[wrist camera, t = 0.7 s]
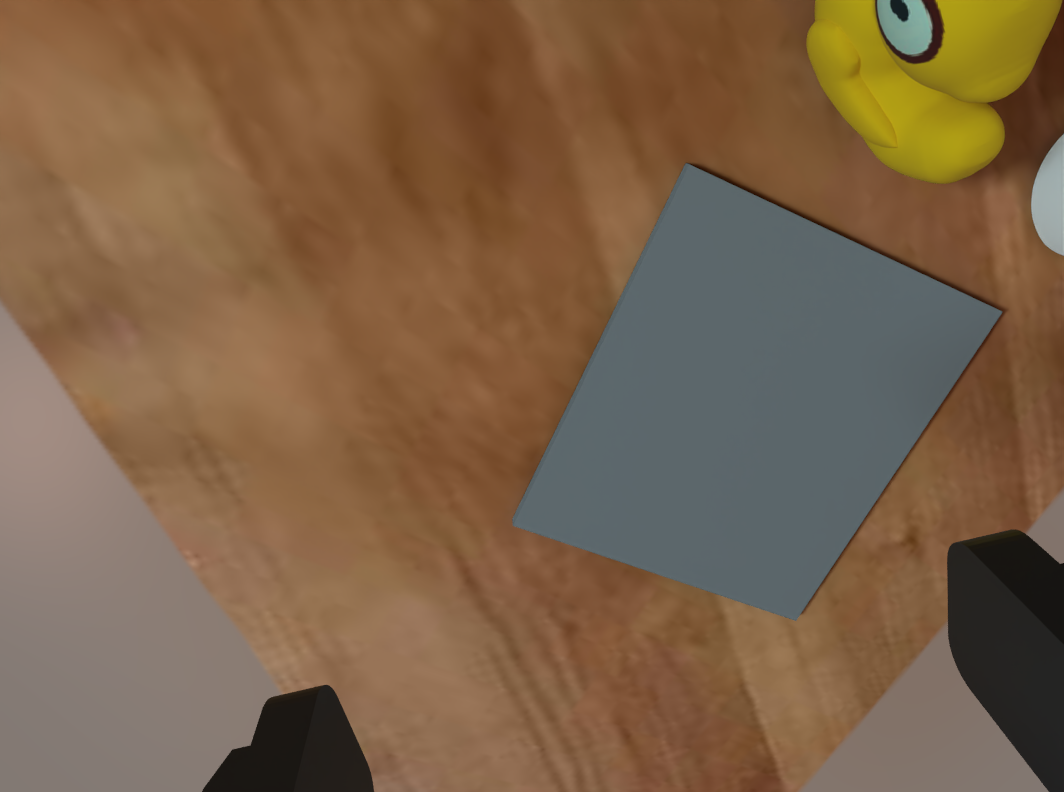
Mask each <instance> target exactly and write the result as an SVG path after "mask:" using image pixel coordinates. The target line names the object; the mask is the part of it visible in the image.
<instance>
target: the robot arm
mask: <svg viewBox="0 0 1064 792" xmlns="http://www.w3.org/2000/svg"><path fill="white" fill-rule="evenodd" d="M947 570H948V637H949V644H950V648H951V652H952V655H953V658H954V661H955V663H956V666H957V668H958V670H959V672H960V674H961V676H962V678H963V679H964V681H965V682H966V684H967V686H968V687H969V689H970V690H971V691H972V693H973V694H974V695H975V696H976V698H977V699H978V700H979V702H980V703H981V704H982V706H983V707H984V708H985V709H986V710H987V712H988V713H989V714H990V716H991V717H992V718H993V720H994V721H995V722H996V724H997V725H998V726H999V728H1000V729H1001V730H1002V731H1003V733H1004V734H1005V735H1006V737H1007V738H1008V739H1009V741H1010V742H1011V743H1012V744H1013V746H1014V747H1015V748H1016V750H1017V751H1018V752H1019V753H1020V755H1021V756H1022V757H1023V758H1024V760H1025V761H1026V762H1027V764H1028V765H1029V766H1030V768H1031V769H1032V770H1033V772H1034V773H1035V774H1036V775H1037V776H1038V778H1039V779H1040V781H1041V782H1042V783H1043V785H1044V786H1045V787H1046V788H1047V790H1048V791H1049V792H1064V563H1063V564H1059V563H1058V562H1057V561H1056V560H1055V559H1054V558H1052V557H1051V556H1050V555H1049V554H1048V553H1047V552H1046V551H1045V550H1044V549H1042V548H1041V547H1040V546H1039V545H1038V544H1037V543H1036V542H1034V541H1033V540H1032V539H1031V538H1030V537H1029V536H1027V535H1026V534H1025V533H1023V532H1021V531H1019V530H1008V531H1004V532H999V533H995V534H991V535H986V536H982V537H978V538H973V539H969V540H964V541H960V542H956V543H953V544H952V545H951V546H950V548H949V550H948V557H947ZM202 792H374V788H373V781H372V777H371V772H370V769H369V766H368V763H367V761H366V759H365V757H364V754H363V752H362V750H361V748H360V745H359V743H358V741H357V739H356V737H355V734H354V732H353V730H352V728H351V726H350V723H349V721H348V719H347V717H346V715H345V712H344V710H343V708H342V706H341V704H340V701H339V699H338V697H337V695H336V693H335V691H334V690H333V689H332V688H331V687H330V686H329V685H323V686H318V687H314V688H310V689H305V690H301V691H296V692H292V693H288V694H283V695H279V696H275V697H271V698H269V699H268V700H267V701H266V703H265V705H264V707H263V709H262V712H261V715H260V718H259V721H258V724H257V727H256V731H255V734H254V736H253V740H252V743H251V746H247V747H242V748H238V749H234V750H232V751H231V752H230V754H229V755H228V756H227V758H226V759H225V760H224V762H223V763H222V764H221V766H220V767H219V768H218V770H217V771H216V773H215V774H214V775H213V777H212V778H211V779H210V781H209V782H208V783H207V785H206V786H205V787H204V789H203V791H202Z"/></svg>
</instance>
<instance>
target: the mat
mask: <svg viewBox="0 0 1064 792" xmlns="http://www.w3.org/2000/svg"><path fill="white" fill-rule="evenodd" d="M1001 314H1002V311H1000V310H998V309H996V308H994V307H992V306H989V305H987V304H985V303H983V302H981V301H979V300H977V299H975V298H972V297H970V296H968V295H966V294H964V293H962V292H960V291H958V290H955V289H953V288H951V287H949V286H947V285H945V284H943V283H941V282H938V281H936V280H934V279H932V278H930V277H928V276H926V275H924V274H921V273H919V272H917V271H915V270H913V269H911V268H909V267H907V266H904V265H902V264H900V263H898V262H896V261H894V260H892V259H889V258H887V257H885V256H883V255H881V254H879V253H877V252H875V251H872V250H870V249H868V248H866V247H864V246H862V245H860V244H858V243H855V242H853V241H851V240H849V239H847V238H845V237H843V236H841V235H838V234H836V233H834V232H832V231H830V230H828V229H826V228H824V227H821V226H819V225H817V224H815V223H813V222H811V221H809V220H807V219H804V218H802V217H800V216H798V215H796V214H794V213H792V212H790V211H787V210H785V209H783V208H781V207H779V206H777V205H775V204H773V203H770V202H768V201H766V200H764V199H762V198H760V197H758V196H756V195H753V194H751V193H749V192H747V191H745V190H743V189H741V188H739V187H736V186H734V185H732V184H730V183H728V182H726V181H724V180H722V179H719V178H717V177H715V176H713V175H711V174H709V173H707V172H705V171H702V170H700V169H698V168H696V167H694V166H692V165H690V164H687V163H686V164H685V166H684V168H683V170H682V172H681V174H680V176H679V178H678V180H677V182H676V184H675V186H674V188H673V190H672V192H671V194H670V197H669V199H668V201H667V203H666V205H665V207H664V209H663V211H662V213H661V215H660V217H659V219H658V221H657V223H656V225H655V227H654V229H653V231H652V233H651V236H650V238H649V240H648V242H647V244H646V246H645V248H644V250H643V252H642V254H641V256H640V258H639V260H638V262H637V264H636V266H635V268H634V270H633V272H632V275H631V277H630V279H629V281H628V283H627V285H626V287H625V289H624V291H623V293H622V295H621V297H620V299H619V301H618V303H617V305H616V307H615V309H614V311H613V314H612V316H611V318H610V320H609V322H608V324H607V326H606V328H605V330H604V332H603V334H602V336H601V338H600V340H599V342H598V344H597V346H596V348H595V351H594V353H593V355H592V357H591V359H590V361H589V363H588V365H587V367H586V369H585V371H584V373H583V375H582V377H581V379H580V381H579V383H578V385H577V387H576V390H575V392H574V394H573V396H572V398H571V400H570V402H569V404H568V406H567V408H566V410H565V412H564V414H563V416H562V418H561V420H560V422H559V424H558V426H557V429H556V431H555V433H554V435H553V437H552V439H551V441H550V443H549V445H548V447H547V449H546V451H545V453H544V455H543V457H542V459H541V461H540V463H539V465H538V468H537V470H536V472H535V474H534V476H533V478H532V480H531V482H530V484H529V486H528V488H527V490H526V492H525V494H524V496H523V498H522V500H521V502H520V505H519V507H518V509H517V511H516V513H515V515H514V517H513V519H512V520H513V526H515V527H518V528H521V529H524V530H527V531H530V532H533V533H536V534H539V535H542V536H545V537H548V538H551V539H554V540H557V541H560V542H563V543H566V544H569V545H572V546H575V547H578V548H581V549H584V550H587V551H590V552H593V553H596V554H599V555H602V556H605V557H608V558H611V559H614V560H617V561H620V562H622V563H625V564H628V565H631V566H634V567H637V568H640V569H643V570H646V571H649V572H652V573H655V574H658V575H661V576H664V577H667V578H670V579H673V580H676V581H679V582H682V583H685V584H688V585H691V586H694V587H697V588H700V589H703V590H706V591H709V592H712V593H715V594H718V595H721V596H724V597H727V598H730V599H733V600H736V601H739V602H742V603H745V604H748V605H751V606H754V607H756V608H759V609H762V610H765V611H768V612H771V613H774V614H777V615H780V616H783V617H786V618H789V619H792V620H795V621H796V620H797V618H798V617H799V615H800V614H801V613H802V611H803V610H804V608H805V607H806V605H807V604H808V602H809V601H810V599H811V598H812V596H813V595H814V593H815V592H816V590H817V589H818V587H819V586H820V584H821V583H822V581H823V580H824V578H825V577H826V575H827V574H828V572H829V571H830V569H831V568H832V566H833V565H834V563H835V562H836V560H837V559H838V557H839V556H840V554H841V553H842V551H843V550H844V548H845V547H846V545H847V544H848V542H849V541H850V539H851V538H852V536H853V535H854V533H855V532H856V530H857V529H858V527H859V526H860V524H861V523H862V521H863V520H864V518H865V517H866V515H867V514H868V512H869V511H870V509H871V508H872V506H873V505H874V503H875V502H876V500H877V499H878V497H879V496H880V494H881V493H882V491H883V490H884V488H885V487H886V485H887V484H888V482H889V481H890V480H891V478H892V477H893V475H894V474H895V472H896V471H897V469H898V468H899V466H900V465H901V463H902V462H903V460H904V459H905V457H906V456H907V454H908V453H909V451H910V450H911V448H912V447H913V445H914V444H915V442H916V441H917V439H918V438H919V436H920V435H921V433H922V432H923V430H924V429H925V427H926V426H927V424H928V423H929V421H930V420H931V418H932V417H933V415H934V414H935V412H936V411H937V409H938V408H939V406H940V405H941V403H942V402H943V400H944V399H945V397H946V396H947V394H948V393H949V391H950V390H951V388H952V387H953V385H954V384H955V382H956V381H957V379H958V378H959V376H960V375H961V373H962V372H963V370H964V369H965V367H966V366H967V364H968V363H969V361H970V360H971V358H972V357H973V355H974V354H975V352H976V351H977V349H978V348H979V347H980V345H981V344H982V342H983V341H984V339H985V338H986V336H987V335H988V333H989V332H990V330H991V329H992V327H993V326H994V324H995V323H996V321H997V320H998V318H999V317H1000V315H1001Z"/></svg>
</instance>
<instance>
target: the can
mask: <svg viewBox="0 0 1064 792" xmlns="http://www.w3.org/2000/svg"><path fill="white" fill-rule="evenodd" d="M1031 210H1032V218H1033V222H1034V225H1035V228H1036V230H1037V233H1038V235H1039V237H1040V238H1041V240H1042V241H1043V243H1044V244H1045V245H1046V246H1047V247H1049V248H1050V249H1051V250H1053V251H1054V252H1056V253H1058V254H1061V255H1063V256H1064V134H1063V135H1062V136H1061V137H1060V138H1059V139H1058V140H1057V142H1056V143H1055V144H1054V145H1053V147H1052V148H1051V149H1050V151H1049V152H1048V154H1047V155H1046V157H1045V159H1044V160H1043V162H1042V164H1041V166H1040V168H1039V171H1038V173H1037V176H1036V179H1035V182H1034V186H1033V191H1032V200H1031Z"/></svg>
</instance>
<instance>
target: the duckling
mask: <svg viewBox="0 0 1064 792" xmlns="http://www.w3.org/2000/svg"><path fill="white" fill-rule="evenodd" d="M1061 4H1062V0H815V22H814V23H813V25H812V26H811V27H810V29H809V32H808V34H807V52H808V56H809V59H810V61H811V64H812V66H813V69H814V71H815V73H816V76H817V78H818V81H819V83H820V85H821V87H822V89H823V90H824V92H825V93H826V95H827V96H828V98H829V99H830V101H831V102H832V103H833V105H834V106H835V107H836V109H837V110H838V111H839V113H840V114H841V115H842V116H843V118H844V119H845V120H846V121H847V122H848V123H849V124H850V125H851V126H852V127H853V128H854V129H855V130H856V131H857V132H858V133H859V134H860V135H861V136H862V137H863V139H864V141H865V142H866V144H867V145H868V147H869V148H870V149H871V151H872V152H873V153H874V154H875V156H876V157H877V158H878V159H879V160H880V161H881V162H882V163H884V164H885V165H886V166H888V167H889V168H891V169H893V170H895V171H897V172H899V173H901V174H903V175H906V176H909V177H912V178H915V179H918V180H922V181H926V182H930V183H937V184H947V183H952V182H956V181H958V180H961V179H963V178H966V177H968V176H971V175H972V174H974V173H975V172H977V171H979V170H980V169H982V168H983V167H985V166H987V165H988V164H989V163H990V162H991V161H992V160H993V159H994V158H995V157H996V156H997V154H998V153H999V152H1000V150H1001V148H1002V146H1003V143H1004V139H1005V129H1004V125H1003V122H1002V120H1001V118H1000V116H999V115H998V113H997V112H996V111H995V110H994V109H993V108H992V107H991V106H990V105H989V104H988V102H993V101H997V100H999V99H1002V98H1005V97H1006V96H1008V95H1009V94H1011V93H1012V92H1014V91H1015V90H1017V89H1018V88H1019V87H1020V86H1021V85H1022V84H1023V83H1024V81H1025V80H1026V79H1027V77H1028V76H1029V74H1030V73H1031V71H1032V69H1033V67H1034V65H1035V63H1036V60H1037V58H1038V55H1039V53H1040V51H1041V49H1042V47H1043V45H1044V43H1045V41H1046V39H1047V37H1048V35H1049V33H1050V31H1051V29H1052V27H1053V25H1054V22H1055V20H1056V18H1057V15H1058V13H1059V10H1060V7H1061Z"/></svg>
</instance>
